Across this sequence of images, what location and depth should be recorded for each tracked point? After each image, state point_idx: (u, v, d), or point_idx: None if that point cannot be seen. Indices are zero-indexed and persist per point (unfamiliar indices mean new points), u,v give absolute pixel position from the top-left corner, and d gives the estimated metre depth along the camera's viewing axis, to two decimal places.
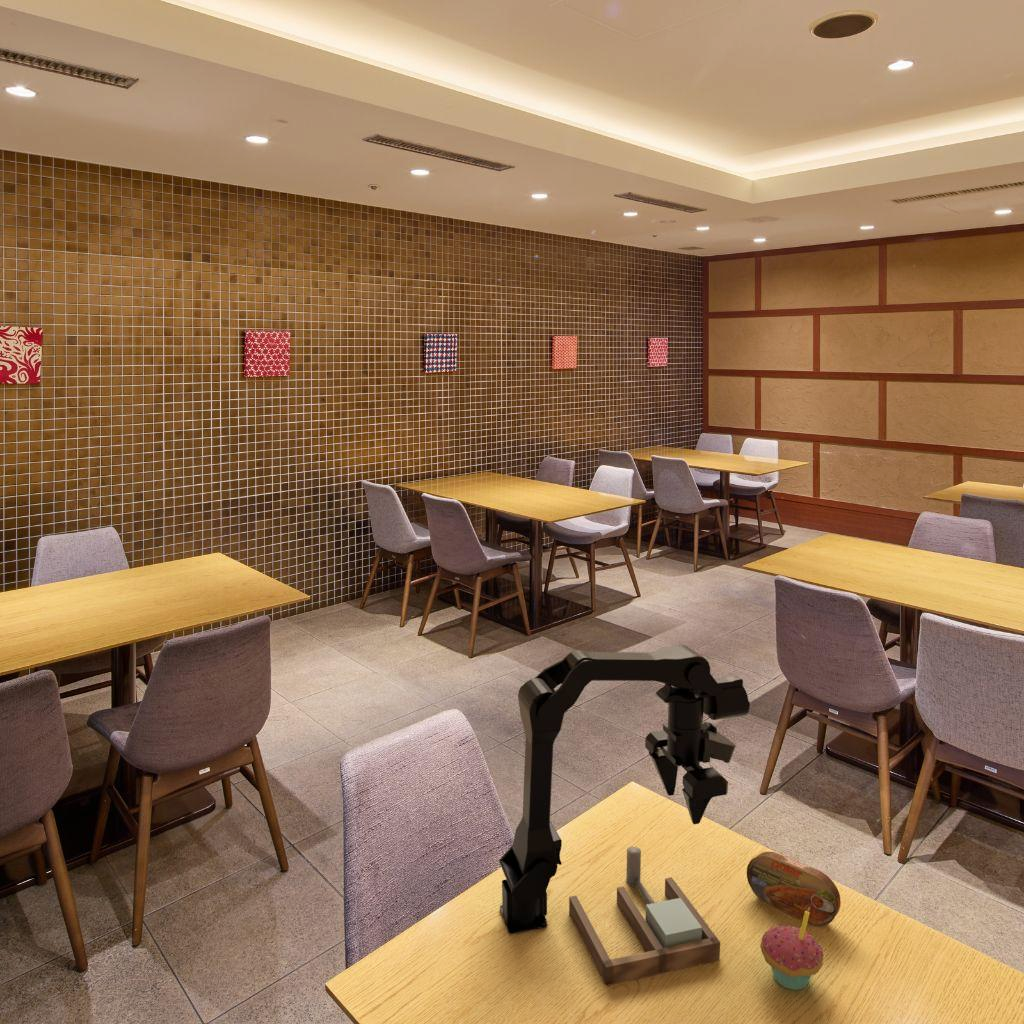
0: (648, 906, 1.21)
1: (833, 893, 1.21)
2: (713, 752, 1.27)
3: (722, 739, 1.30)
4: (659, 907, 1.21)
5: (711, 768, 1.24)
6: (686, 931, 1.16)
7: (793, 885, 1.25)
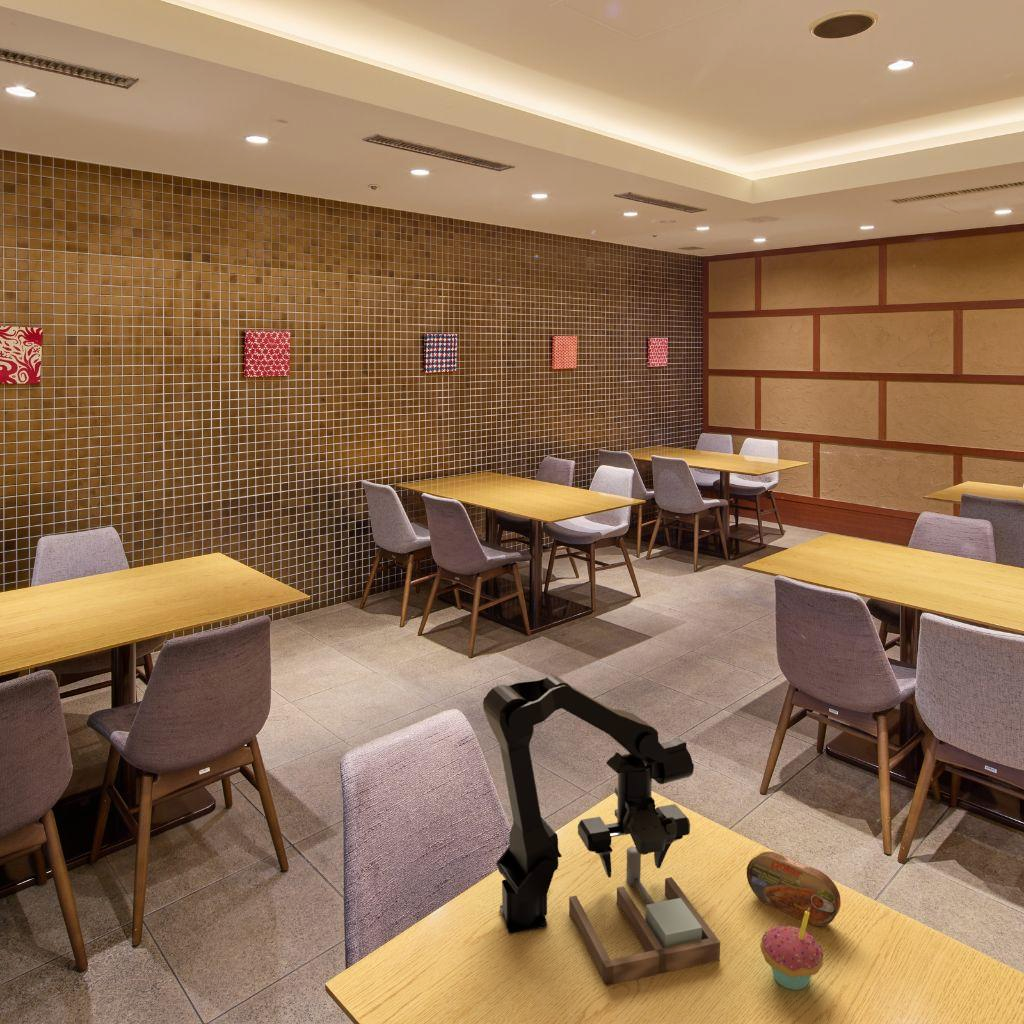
0: (648, 906, 1.21)
1: (833, 893, 1.21)
2: (628, 827, 1.28)
3: (649, 831, 1.25)
4: (659, 907, 1.21)
5: (606, 829, 1.29)
6: (686, 931, 1.16)
7: (793, 885, 1.25)
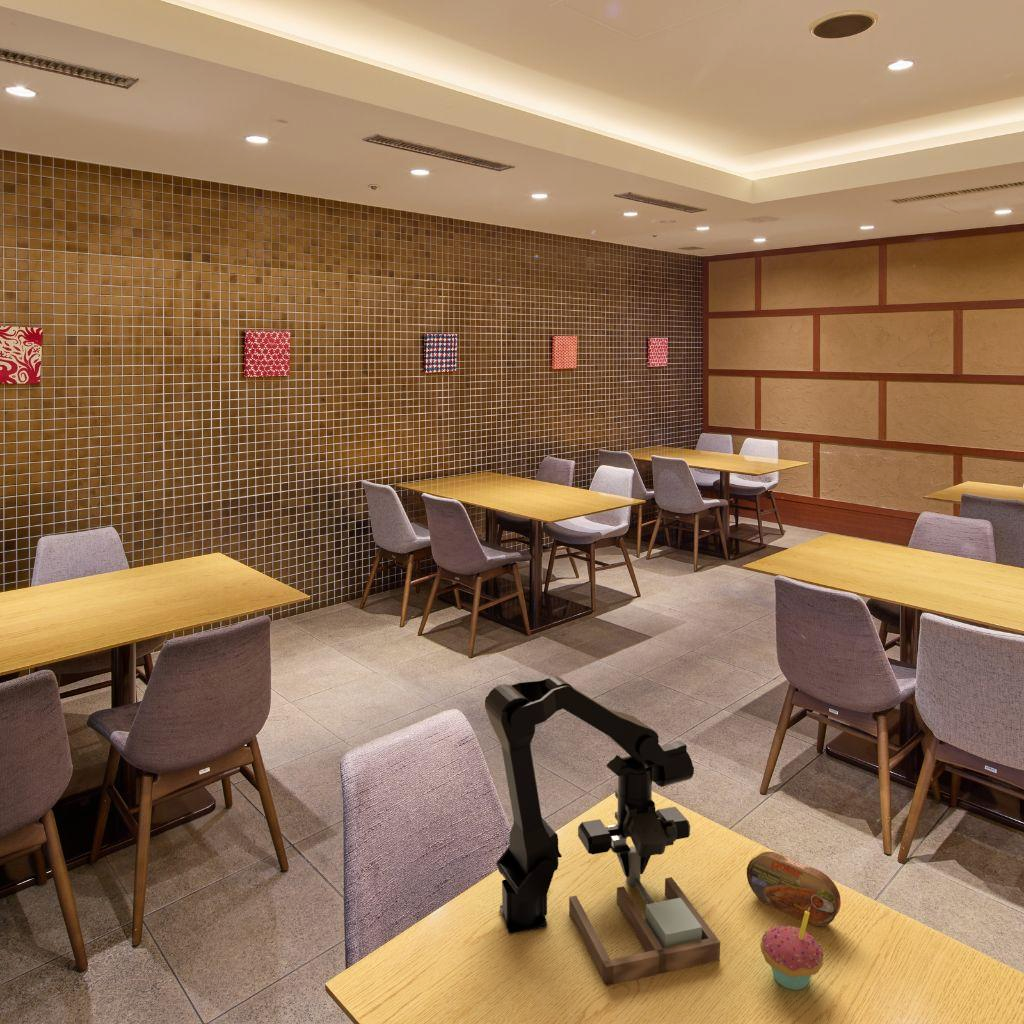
0: (648, 906, 1.21)
1: (833, 893, 1.21)
2: (628, 830, 1.28)
3: (649, 834, 1.26)
4: (659, 907, 1.21)
5: (606, 832, 1.29)
6: (686, 931, 1.16)
7: (793, 885, 1.25)
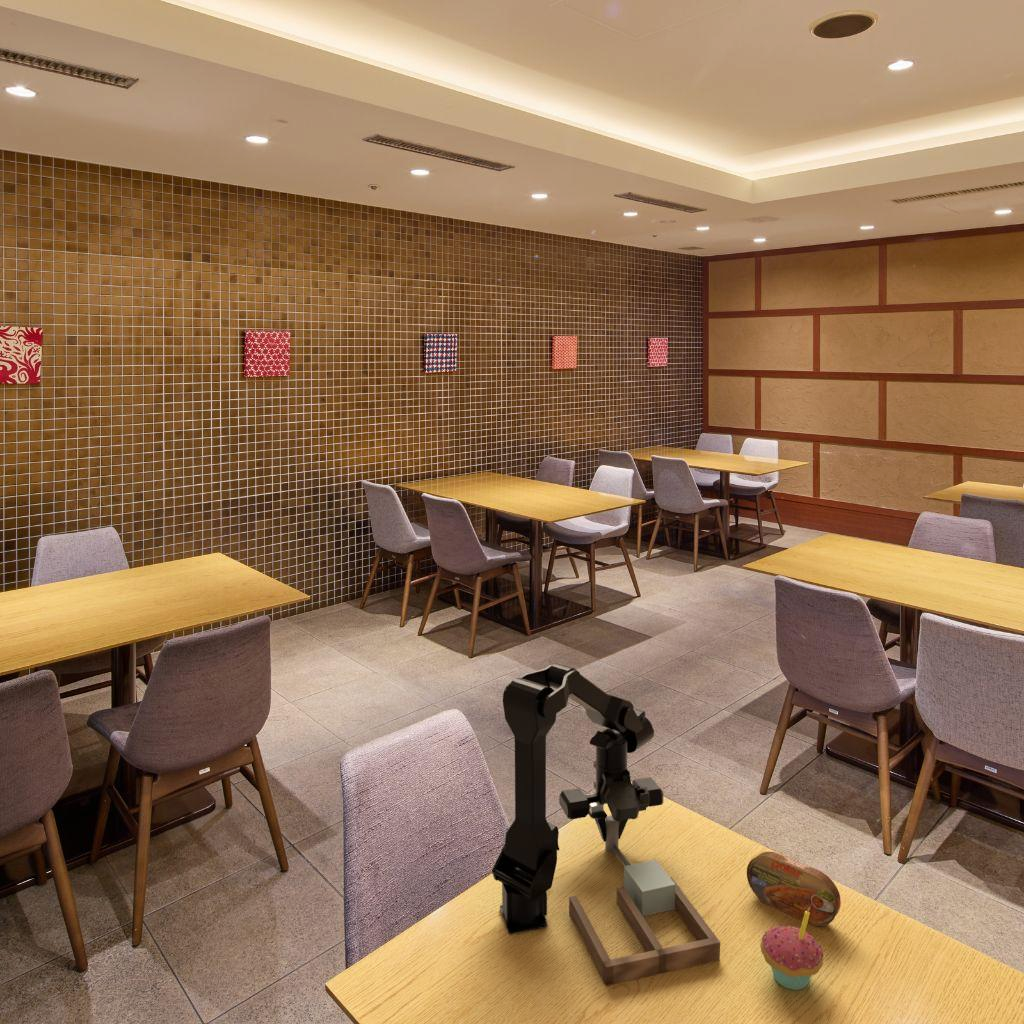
0: (626, 867, 1.31)
1: (833, 893, 1.21)
2: (604, 797, 1.38)
3: (624, 800, 1.36)
4: (636, 868, 1.31)
5: (584, 799, 1.39)
6: (661, 888, 1.26)
7: (793, 885, 1.25)
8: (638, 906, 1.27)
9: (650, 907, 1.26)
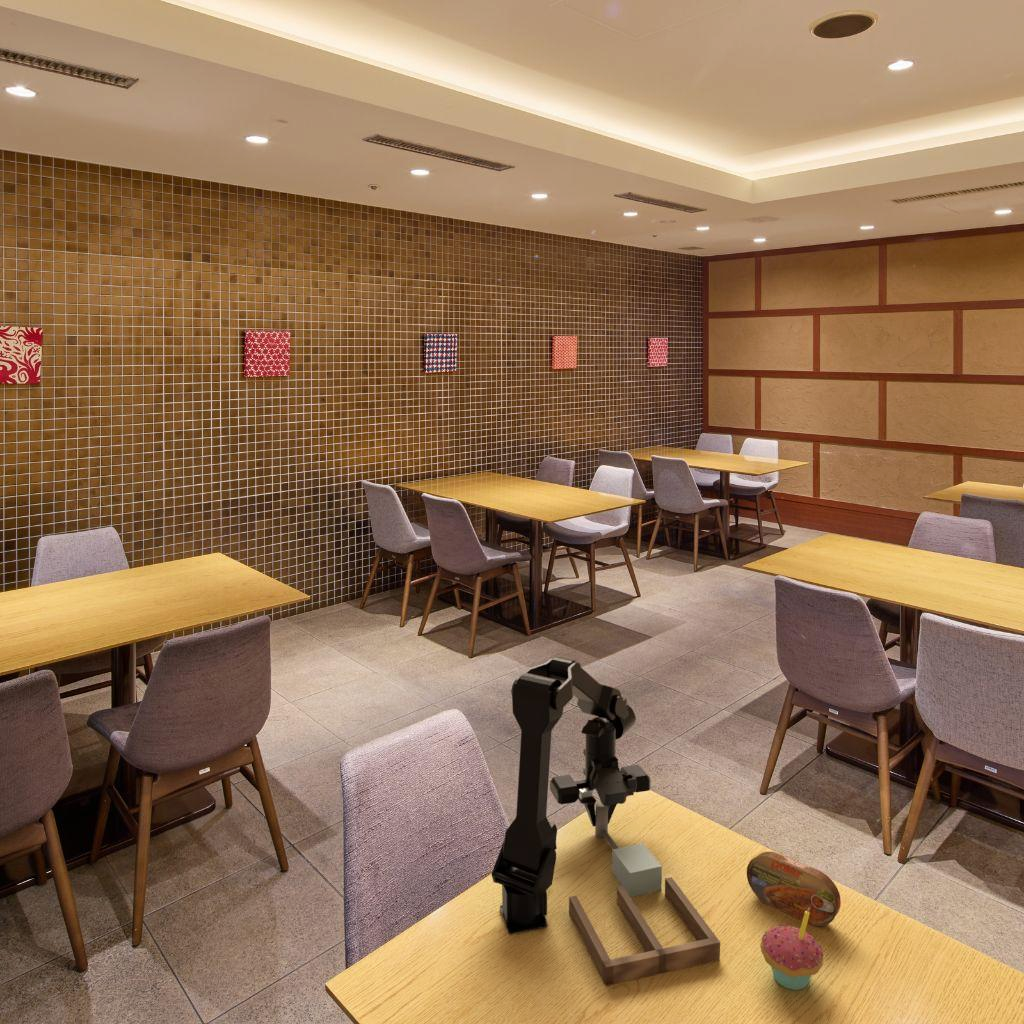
0: (614, 850, 1.36)
1: (833, 893, 1.21)
2: (593, 783, 1.43)
3: (612, 785, 1.41)
4: (624, 851, 1.36)
5: (574, 785, 1.44)
6: (648, 870, 1.31)
7: (793, 885, 1.25)
8: (626, 887, 1.32)
9: (637, 888, 1.31)
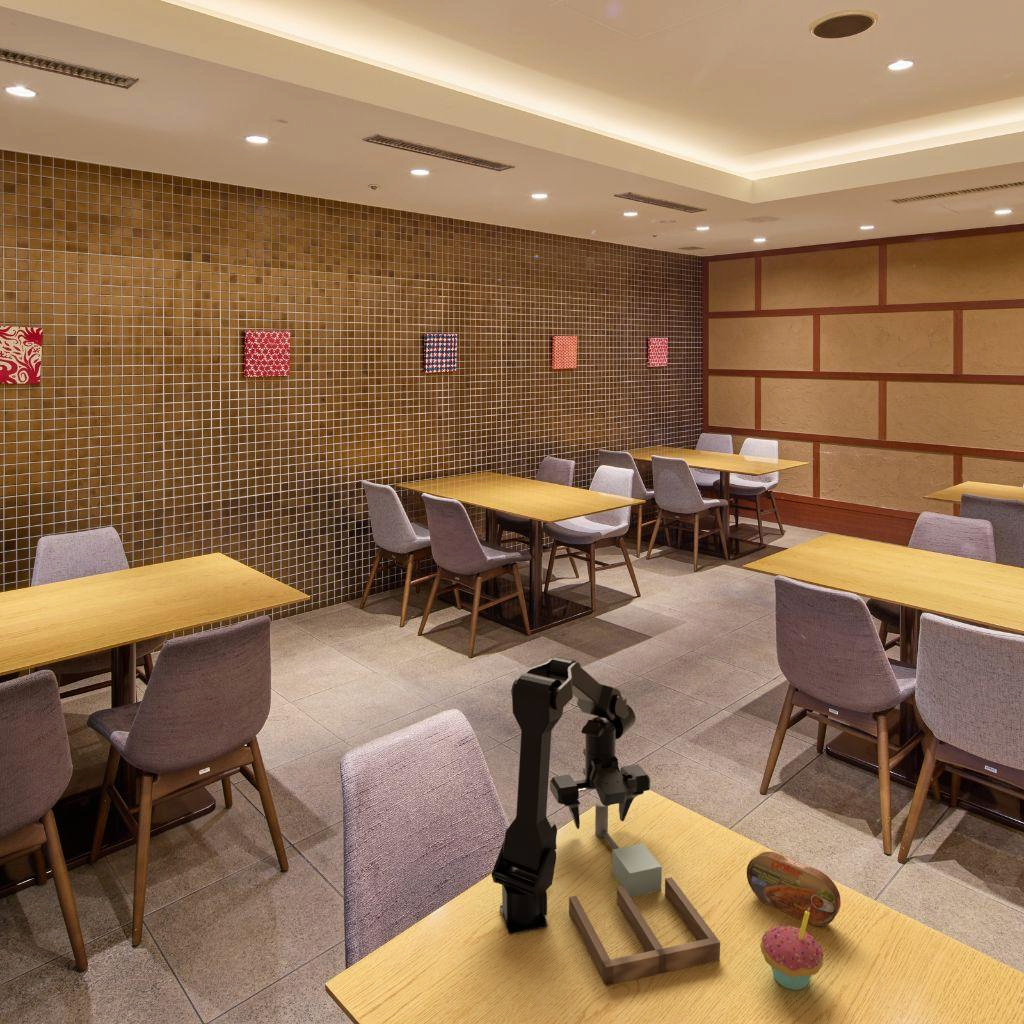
0: (614, 850, 1.36)
1: (833, 893, 1.21)
2: (593, 783, 1.43)
3: (612, 785, 1.41)
4: (624, 851, 1.36)
5: (574, 784, 1.44)
6: (648, 870, 1.31)
7: (793, 885, 1.25)
8: (626, 887, 1.32)
9: (637, 888, 1.31)
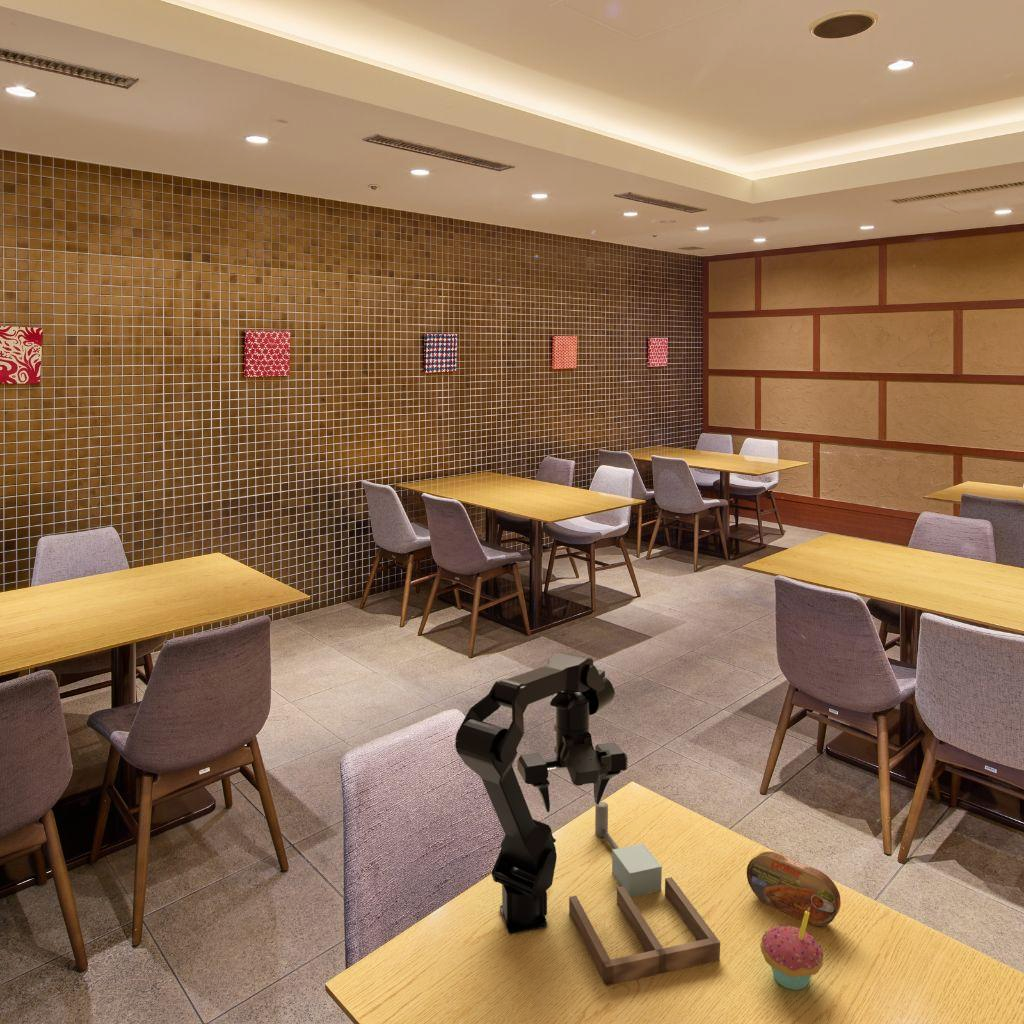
0: (614, 850, 1.36)
1: (833, 893, 1.21)
2: (564, 761, 1.30)
3: (584, 763, 1.28)
4: (623, 851, 1.36)
5: (543, 763, 1.31)
6: (648, 870, 1.31)
7: (793, 885, 1.25)
8: (626, 887, 1.32)
9: (637, 888, 1.31)
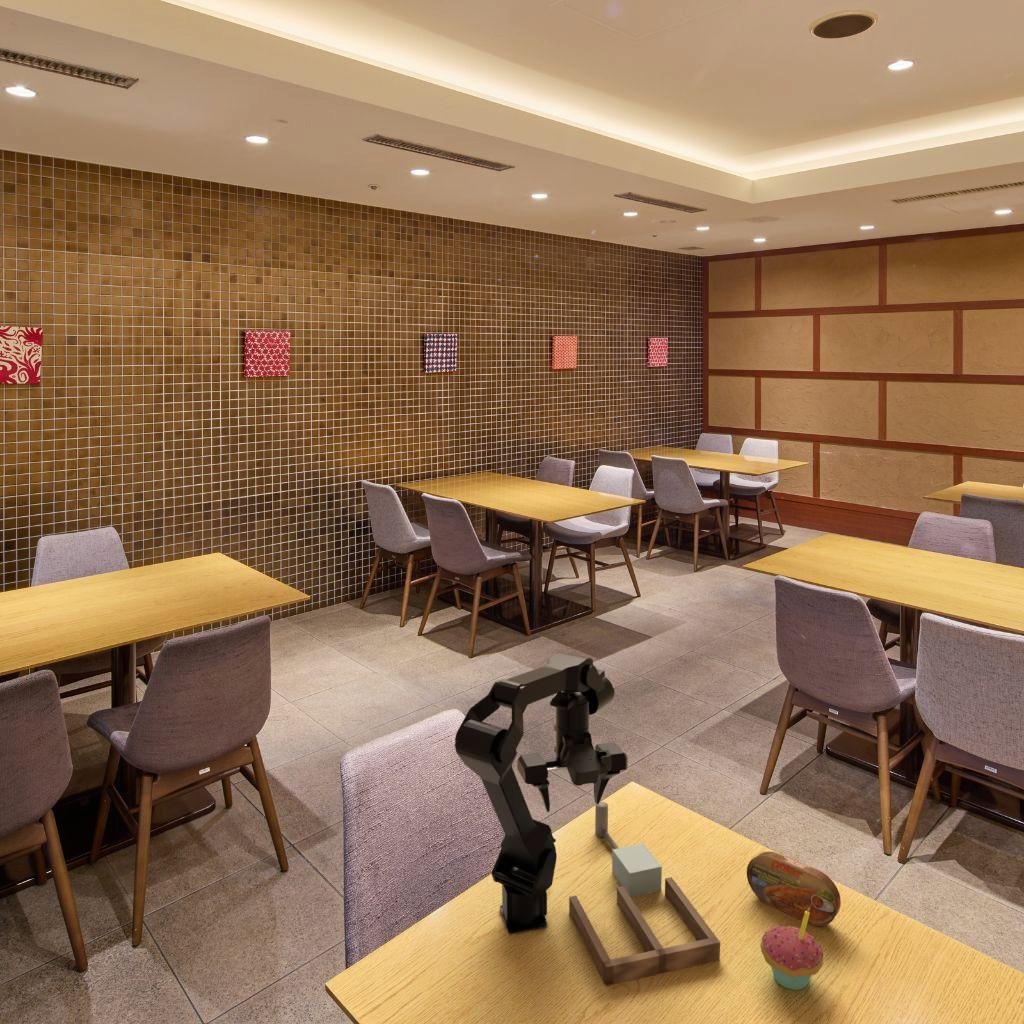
0: (614, 850, 1.36)
1: (833, 893, 1.21)
2: (564, 760, 1.30)
3: (584, 763, 1.28)
4: (624, 851, 1.36)
5: (543, 763, 1.31)
6: (648, 870, 1.31)
7: (793, 885, 1.25)
8: (626, 887, 1.32)
9: (637, 888, 1.31)
